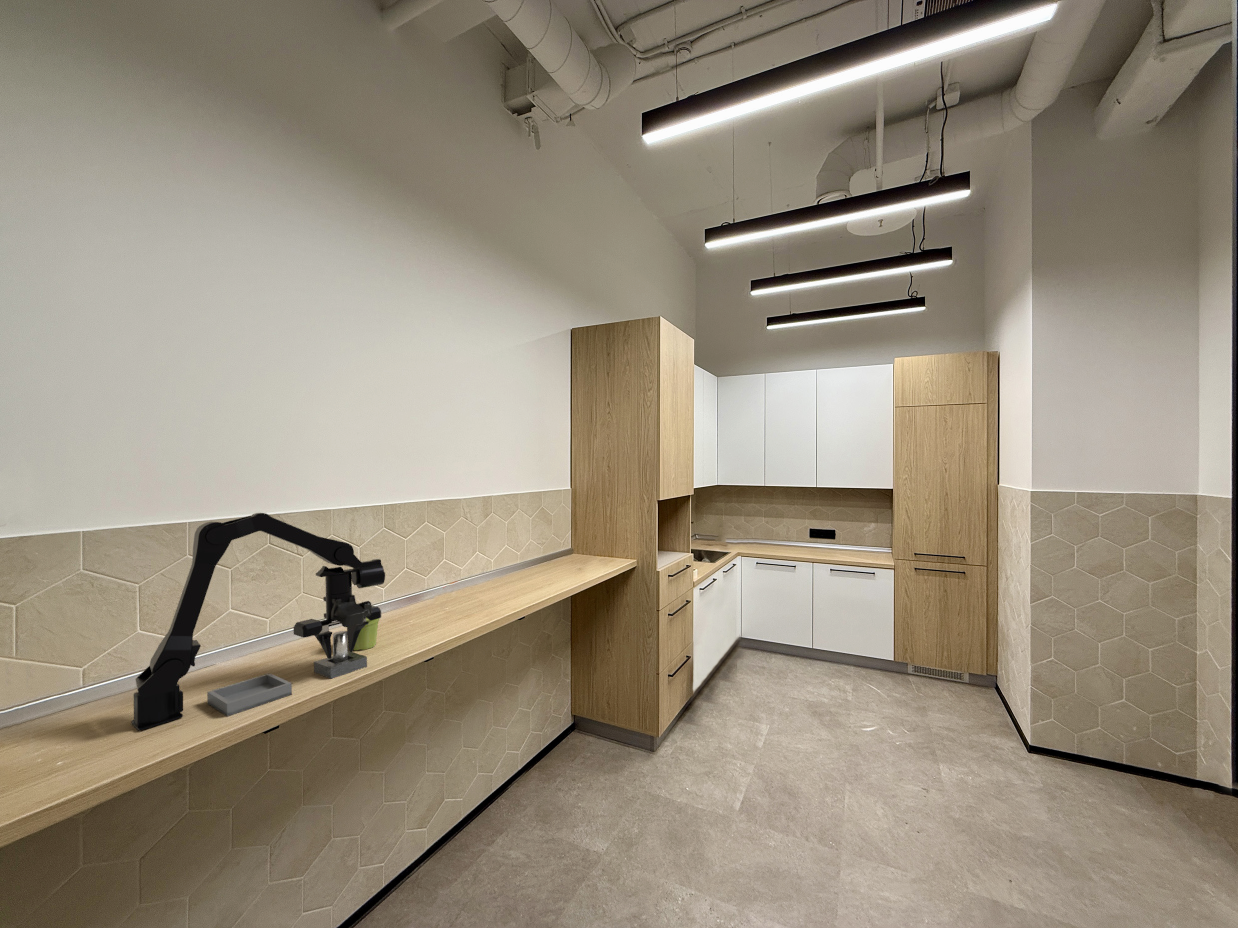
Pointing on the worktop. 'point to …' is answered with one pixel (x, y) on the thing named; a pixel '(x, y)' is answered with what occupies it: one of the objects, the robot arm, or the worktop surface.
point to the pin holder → (340, 665)
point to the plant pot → (367, 635)
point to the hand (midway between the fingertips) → (340, 654)
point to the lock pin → (340, 647)
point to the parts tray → (248, 694)
